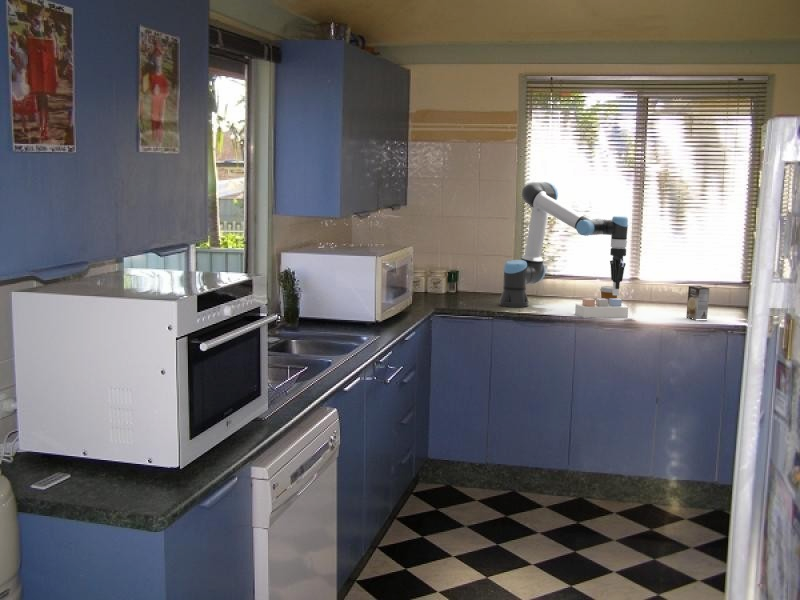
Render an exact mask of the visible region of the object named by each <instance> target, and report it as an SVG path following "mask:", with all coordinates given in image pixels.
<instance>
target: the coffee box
mask: <svg viewBox="0 0 800 600" xmlns="http://www.w3.org/2000/svg"><path fill="white" fill-rule="evenodd" d="M710 289H711V288H710V287H706V286H701V285H689V286H688V290H687V291H688V292H687V293H688V294H687V303H686V315H685V316H686V317H689V318H693V319H707V320H708V311H709V310H708V309H709V299H710V298H709V297H710ZM689 318H688V319H689ZM693 319H692V320H693Z"/></svg>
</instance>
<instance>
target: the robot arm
mask: <svg viewBox="0 0 800 600" xmlns="http://www.w3.org/2000/svg"><path fill="white" fill-rule="evenodd" d="M521 190H522V191H521V197H522V200H523V201H524V203H526V204H527V205H529V208H530V209H531V212H530V213H531V214H530V220H529V225H528V232H527V238H526V243H525V245H526V246H525V250H524V254H523V255H522V256H521V259H512V260H507V261H506V262H505V263H504V268H503V290H502V293H501V295H500V298H499V300H498V301H499V302H498V303H499V304H500V305H499V304H498V305H499V306H501V305H503V306H502V307H506V306H509V307H508V308H525V307H524V306H527V307H529V300H528V296H527V292H526V291H527V290H526V287H527V285H528V284H529V285H531V284H532V285H533V284H537V283H539V282H541V281H542V280H543V279H544V278H545V275H546V266H545V264H544V259H543V258H542V252H543V247H544V246H543V245H544V239H545V233H546V227H547V223H548V222H547V221H548V215H550V216H551V217H553V218H556V219H557V220H559V221H561V222H562V223H564V224H566V225H567V226H569V227H571V228H573V229H574V230H576V232H577V233H578V234H579V235H580V236H585V237H586V236H587V237H589V236H595V235H596V236H599V235H605V236H610V237H611V238H610V256H612V260H609V264H610V280H611V281H612V287H613V295H617V296H620V283H621V282H623V278H624V272H625V268H626V262H624V257H626V256H627V243H628V229H629V228H628V227H629V218H628V217H627V216H622V215H620V216H619V215H614V216H612V219H606V218H605V219H603V218H592V219H589V218H588V217H586V216H584V215H583V214H581V213H579V212H577V211H576V210H575V209H572V208H570V207H569V206H567V205H565V204H564V203H561V202H560V201H558V197H559V193H558V189H557V188H556V186H555V185H554V184H553V183H551V182H547V181H531V182H527V184H525V185H524V187H523V188H522V189H521Z"/></svg>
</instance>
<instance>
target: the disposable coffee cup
mask: <svg viewBox="0 0 800 600" xmlns="http://www.w3.org/2000/svg"><path fill="white" fill-rule="evenodd" d="M599 291H600V297H601V298H605V299H608V304H609V298H618V295H613V286H607V285H604V286H601V287H600V289H599Z"/></svg>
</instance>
